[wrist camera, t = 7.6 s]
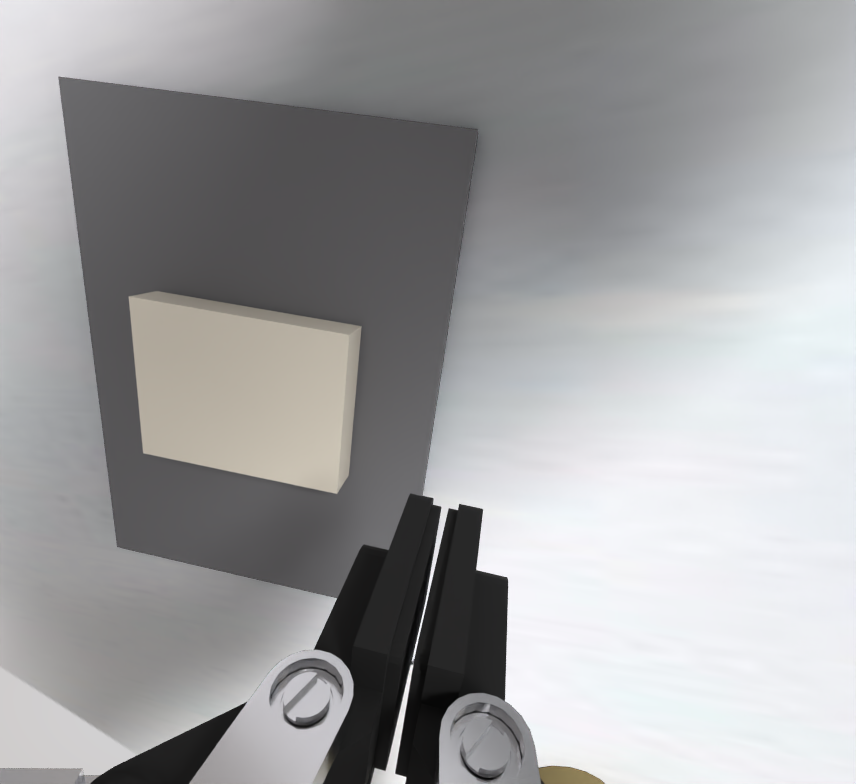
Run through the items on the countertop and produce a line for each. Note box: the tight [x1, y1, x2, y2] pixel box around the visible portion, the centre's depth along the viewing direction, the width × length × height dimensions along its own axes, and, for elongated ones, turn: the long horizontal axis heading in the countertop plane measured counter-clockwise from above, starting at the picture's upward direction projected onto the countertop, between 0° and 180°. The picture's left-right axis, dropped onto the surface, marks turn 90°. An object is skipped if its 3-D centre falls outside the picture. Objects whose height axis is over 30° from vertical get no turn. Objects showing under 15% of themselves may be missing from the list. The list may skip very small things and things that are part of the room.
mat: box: [59, 77, 478, 598], centre depth 21 cm, size 22×16×1 cm
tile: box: [129, 291, 362, 494], centre depth 20 cm, size 7×2×9 cm
